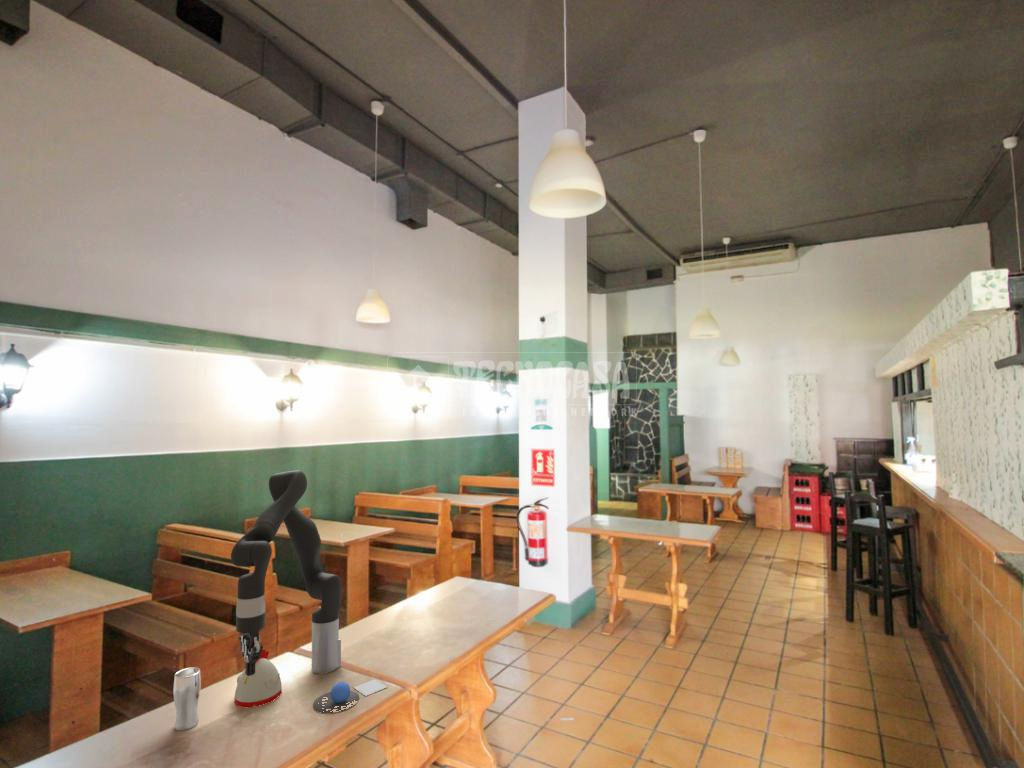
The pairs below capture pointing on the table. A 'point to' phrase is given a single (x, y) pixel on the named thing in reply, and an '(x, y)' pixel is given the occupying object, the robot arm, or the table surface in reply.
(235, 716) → the table surface
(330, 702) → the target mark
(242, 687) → the kitchen timer
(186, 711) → the beer glass
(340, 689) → the ball
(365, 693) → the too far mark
